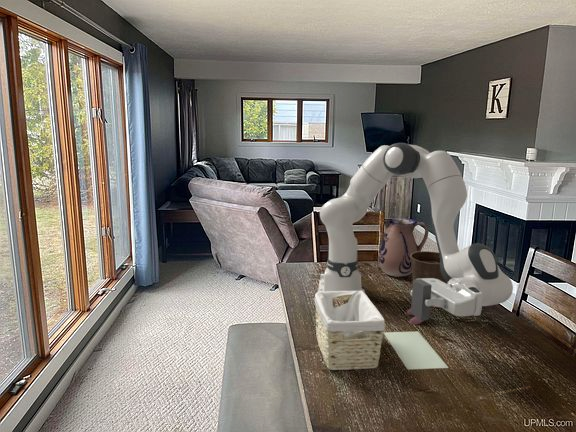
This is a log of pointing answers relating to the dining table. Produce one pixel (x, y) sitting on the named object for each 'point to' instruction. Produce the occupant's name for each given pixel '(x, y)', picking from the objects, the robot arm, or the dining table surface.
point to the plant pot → (426, 265)
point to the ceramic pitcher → (399, 246)
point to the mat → (414, 350)
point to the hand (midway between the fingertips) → (418, 298)
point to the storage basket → (348, 330)
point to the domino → (420, 299)
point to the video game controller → (413, 319)
